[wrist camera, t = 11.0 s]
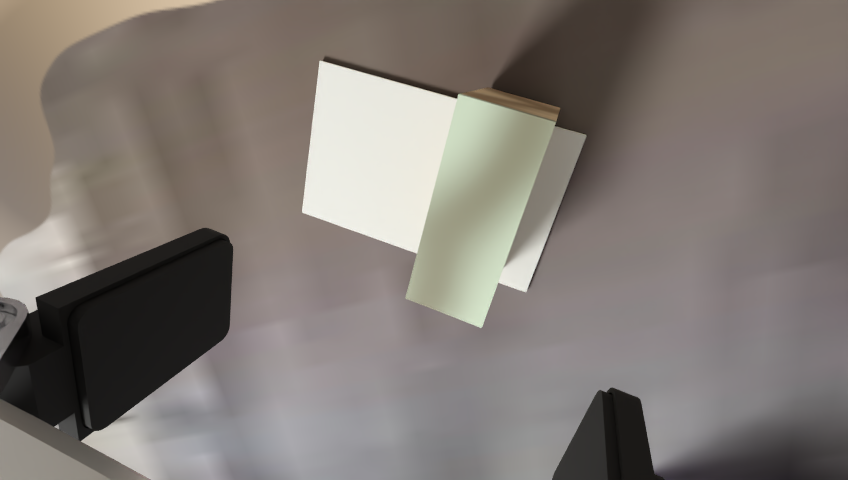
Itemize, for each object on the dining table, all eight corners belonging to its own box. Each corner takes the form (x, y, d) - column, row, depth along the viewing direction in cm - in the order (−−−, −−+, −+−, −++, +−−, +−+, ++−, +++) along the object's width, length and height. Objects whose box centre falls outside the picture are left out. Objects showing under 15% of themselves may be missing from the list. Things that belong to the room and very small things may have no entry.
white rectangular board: (586, 134, 23) (586, 135, 23) (526, 290, 28) (526, 292, 27) (322, 60, 26) (319, 60, 26) (304, 211, 31) (302, 212, 30)
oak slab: (560, 107, 23) (556, 122, 17) (502, 269, 27) (481, 328, 21) (488, 87, 24) (458, 94, 18) (442, 247, 28) (405, 298, 22)
